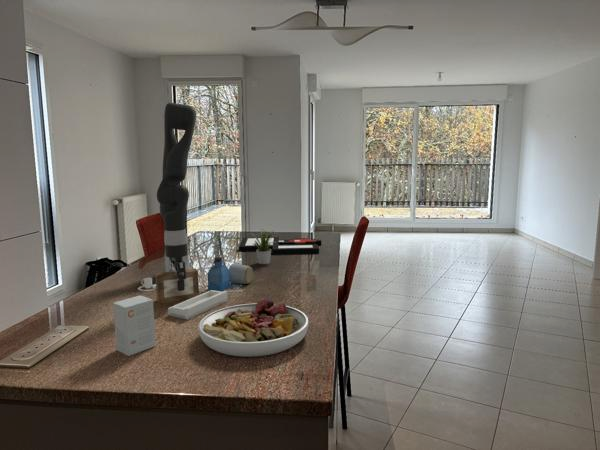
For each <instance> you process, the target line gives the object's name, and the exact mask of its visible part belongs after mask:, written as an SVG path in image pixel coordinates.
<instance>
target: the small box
mask: <svg viewBox="0 0 600 450" xmlns="http://www.w3.org/2000/svg"><path fill="white" fill-rule="evenodd" d="M112 308H113V309H112V311H113V321H114V333H115V344H116V351H118V352H120V353H122V354H124V355H126V356H127V357H130V356H133V355H136V354H138V353H141V352H143V351H146V350H148V349H151V348H154V347H156V346H157V341H156V340H157V339H156V336H157V335H156V325H155V312H154V311H155V310H154V299H152V298H149V297H147V296H144V295H137V296H133V297H128V298H125V299H122V300H118V301H115V302H112Z"/></svg>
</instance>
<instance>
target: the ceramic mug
mask: <svg viewBox="0 0 600 450" xmlns="http://www.w3.org/2000/svg"><path fill="white" fill-rule="evenodd" d="M228 269H229V271H230V284H231V283H233V284H242V285H248V284H250V283H251V282H252V281H253V277H254V270H253V268H252V267H251V266H249V265H246V264H241V263H231V264H230V265H229V267H228Z"/></svg>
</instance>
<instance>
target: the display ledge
mask: <svg viewBox="0 0 600 450" xmlns="http://www.w3.org/2000/svg"><path fill="white" fill-rule="evenodd" d="M228 297H229V296H228V290H224V291H214V290H208V291H206V292H203V293H201V294H200V293H199V295H198V296H196V297H193V298H191V299H188V300H183V301H180V303H177V304H174V305H173V306H170V307H167V308H168V309H167V311H168V312H167V315H168V316H169V317H172V318H178V319H183V320H191V319H193V318H195V317H197V316H199V315H201V314H203V313H205V312H207V311H209V310H212V309H214V308H216V307H218V306H220V305H222V304H224V303H226V302H228V299H229V298H228Z"/></svg>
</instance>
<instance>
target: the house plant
mask: <svg viewBox="0 0 600 450" xmlns="http://www.w3.org/2000/svg"><path fill="white" fill-rule="evenodd" d="M260 231H261V232H260V237H261V243H260V242H259V240H258V238H257V236H256V235H255V234H253V233H252V232H250V234H251V235H252V236H253V238H254V237H255V238H256V239H257V241H258V242H259V244H260V245H259V244H258V243H257V242H256V241H255V240H254V241H255V244H253V245H255V246H257V247H258V246H259V247H258V249H257V250H256V251H255V252H256V256H257V262H258V264H259V265H269V264H270V263H271V255H272V254H271V253H272V251H271V249H267V247H268V245H269V246H270V245H272V244H270V243H274V242H270V243H269V242H268V241H269V240H271V239H272V238H273V237H275V234H277V233H279V232H278V231H277V232H274V230H273V231H271V232H269V233H268V235H266V234H267V233H266V231H265V229H263V231H262V229H260ZM266 237H267V238H266ZM269 237H272V238H271V239H270V238H269ZM275 242H277V241H275ZM268 243H269V244H268ZM256 244H257V245H256Z"/></svg>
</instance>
